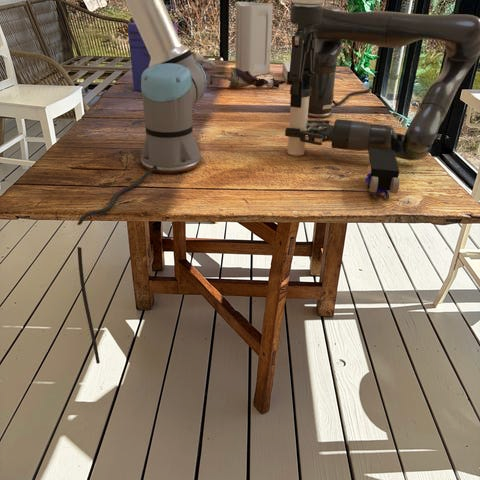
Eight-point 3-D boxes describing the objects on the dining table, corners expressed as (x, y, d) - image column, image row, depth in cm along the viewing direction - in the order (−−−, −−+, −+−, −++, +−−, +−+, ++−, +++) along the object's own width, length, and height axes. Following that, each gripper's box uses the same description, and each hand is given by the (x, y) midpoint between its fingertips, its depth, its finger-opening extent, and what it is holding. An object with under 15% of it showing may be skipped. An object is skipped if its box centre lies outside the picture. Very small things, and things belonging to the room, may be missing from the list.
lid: (315, 95, 122) (315, 88, 121) (297, 97, 120) (297, 90, 119) (303, 90, 126) (303, 83, 125) (285, 92, 124) (286, 85, 123)
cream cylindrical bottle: (307, 153, 130) (313, 90, 121) (293, 156, 128) (298, 92, 119) (298, 148, 134) (303, 86, 125) (283, 151, 132) (288, 87, 123)
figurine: (210, 87, 179) (288, 95, 182) (212, 65, 176) (291, 73, 180) (208, 84, 201) (278, 91, 205) (210, 64, 198) (280, 71, 202)
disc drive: (287, 84, 198) (287, 71, 196) (281, 72, 218) (282, 61, 215) (329, 84, 199) (330, 72, 196) (320, 72, 218) (321, 61, 216)
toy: (170, 75, 210) (169, 59, 206) (146, 65, 227) (145, 49, 223) (217, 69, 221) (217, 53, 218) (191, 60, 239) (191, 45, 235)
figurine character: (397, 209, 105) (389, 175, 117) (404, 179, 101) (395, 147, 112) (366, 207, 106) (361, 173, 118) (371, 177, 101) (366, 145, 113)
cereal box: (180, 88, 189) (177, 22, 177) (178, 91, 185) (174, 24, 173) (137, 87, 190) (130, 21, 178) (134, 90, 186) (127, 23, 173)
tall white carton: (273, 76, 210) (276, 6, 196) (239, 77, 209) (240, 6, 194) (266, 67, 226) (268, 2, 212) (235, 67, 225) (235, 1, 210)
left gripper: (303, 1, 121) (296, 93, 133) (278, 7, 106) (273, 111, 118) (332, 2, 119) (323, 96, 130) (311, 9, 103) (302, 115, 115)
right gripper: (356, 113, 128) (293, 107, 132) (351, 129, 116) (282, 122, 120) (352, 140, 132) (291, 134, 136) (347, 158, 120) (281, 151, 124)
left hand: (299, 103), depth 124 cm, fingers open, 6 cm apart
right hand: (287, 128), depth 128 cm, fingers closed on cream cylindrical bottle, 4 cm apart
